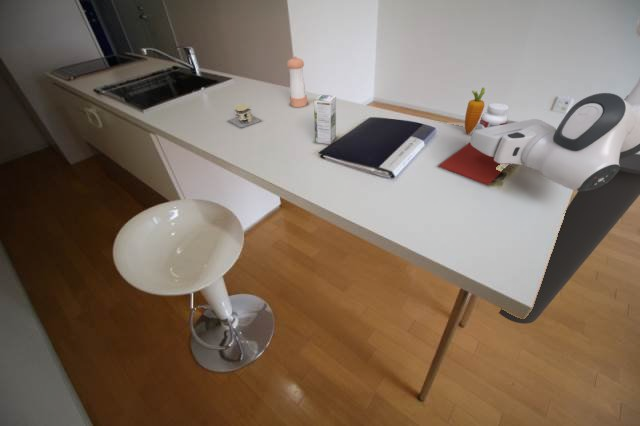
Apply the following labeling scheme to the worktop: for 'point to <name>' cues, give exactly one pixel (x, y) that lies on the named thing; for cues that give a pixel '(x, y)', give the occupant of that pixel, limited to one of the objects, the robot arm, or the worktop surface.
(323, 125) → the syrup box
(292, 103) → the pepper shaker
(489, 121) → the pill bottle
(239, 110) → the stacked layers on plate
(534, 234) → the worktop surface
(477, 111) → the carrot
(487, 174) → the red pad
